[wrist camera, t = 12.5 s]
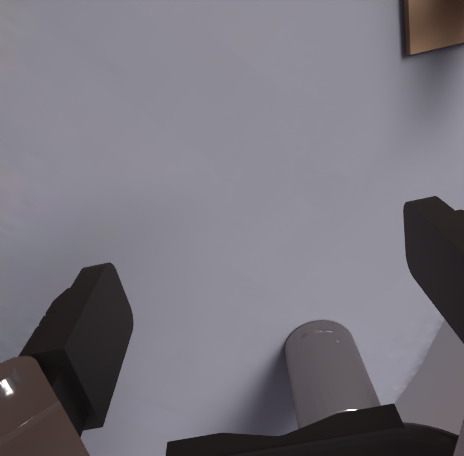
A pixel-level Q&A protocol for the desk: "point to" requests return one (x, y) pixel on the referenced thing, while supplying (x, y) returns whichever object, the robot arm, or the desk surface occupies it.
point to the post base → (432, 24)
